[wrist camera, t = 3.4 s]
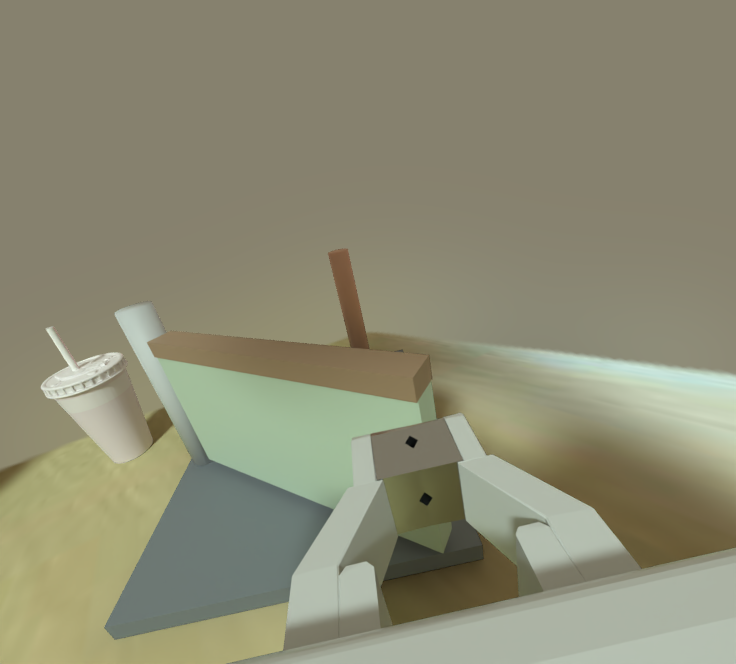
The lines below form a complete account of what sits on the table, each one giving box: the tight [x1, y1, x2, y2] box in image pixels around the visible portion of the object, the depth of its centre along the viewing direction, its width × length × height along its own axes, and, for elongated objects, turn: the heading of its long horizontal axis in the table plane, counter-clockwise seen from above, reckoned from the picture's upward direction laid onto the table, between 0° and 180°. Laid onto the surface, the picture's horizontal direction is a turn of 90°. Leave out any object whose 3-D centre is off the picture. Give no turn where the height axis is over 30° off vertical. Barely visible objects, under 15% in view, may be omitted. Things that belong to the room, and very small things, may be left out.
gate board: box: [104, 249, 483, 639], centre depth 27 cm, size 21×24×15 cm
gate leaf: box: [147, 331, 452, 553], centre depth 21 cm, size 20×2×11 cm, turn 61°
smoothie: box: [41, 326, 153, 463], centre depth 32 cm, size 6×6×14 cm
